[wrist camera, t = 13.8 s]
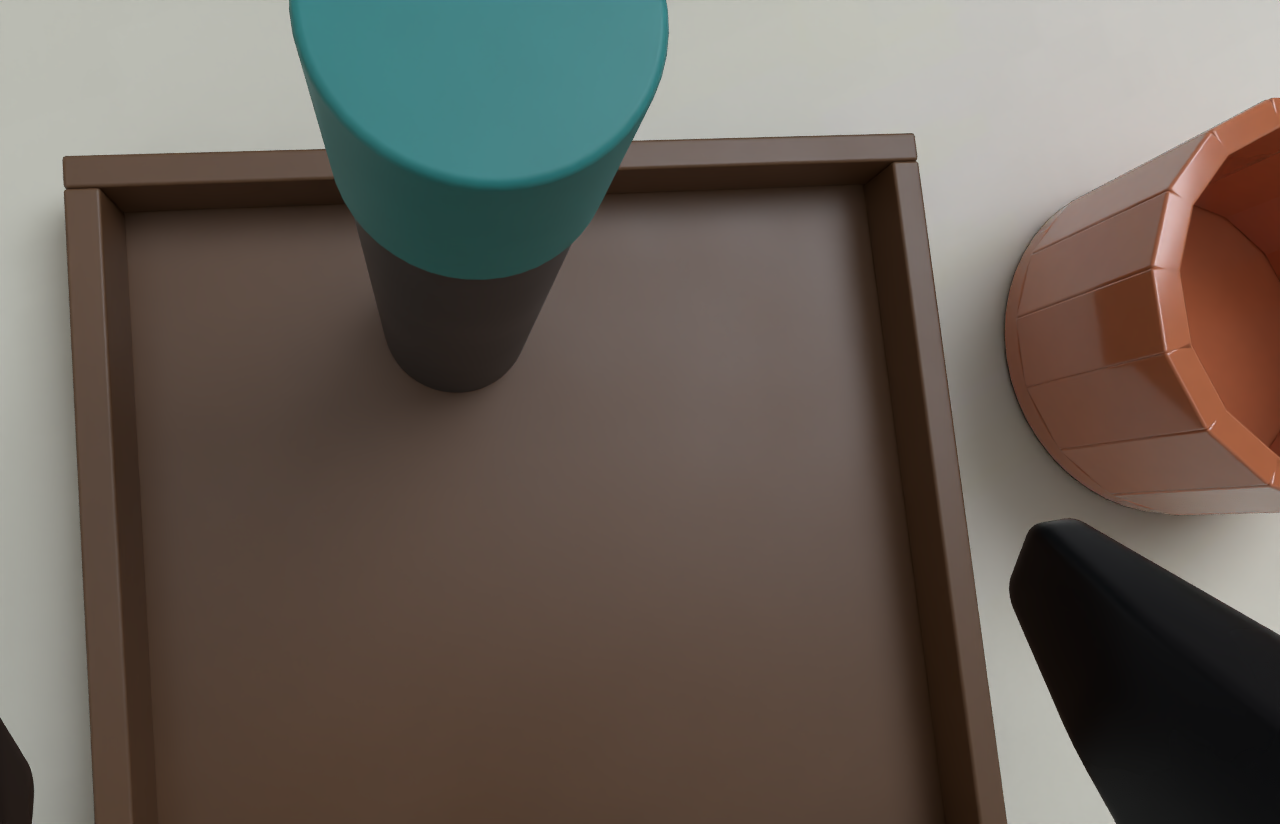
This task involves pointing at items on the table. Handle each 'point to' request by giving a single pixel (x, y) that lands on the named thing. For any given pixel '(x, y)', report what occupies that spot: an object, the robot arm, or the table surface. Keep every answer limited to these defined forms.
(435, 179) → the disc
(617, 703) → the tray
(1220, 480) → the pen pot
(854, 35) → the table surface
